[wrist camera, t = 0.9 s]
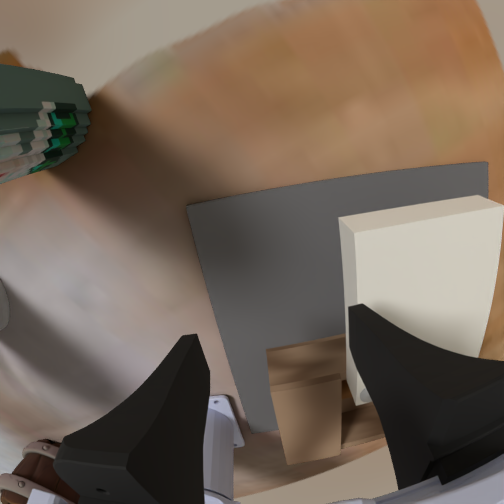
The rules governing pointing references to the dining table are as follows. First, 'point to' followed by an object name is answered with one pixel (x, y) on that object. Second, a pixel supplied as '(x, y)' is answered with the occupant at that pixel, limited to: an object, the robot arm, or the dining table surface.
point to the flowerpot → (35, 476)
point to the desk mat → (296, 261)
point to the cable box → (317, 401)
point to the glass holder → (4, 307)
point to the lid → (423, 272)
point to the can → (38, 120)
